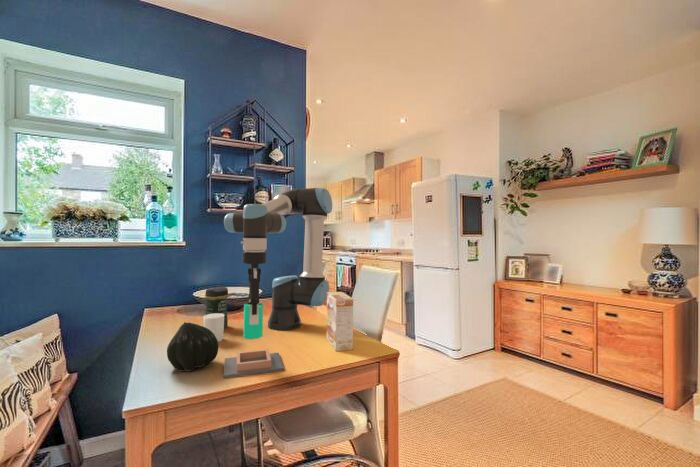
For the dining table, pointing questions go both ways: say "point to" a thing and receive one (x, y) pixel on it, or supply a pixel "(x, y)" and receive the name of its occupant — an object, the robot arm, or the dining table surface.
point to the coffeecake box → (340, 321)
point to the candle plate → (252, 363)
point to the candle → (256, 329)
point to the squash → (192, 347)
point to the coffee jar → (217, 302)
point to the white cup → (215, 324)
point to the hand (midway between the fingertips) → (253, 321)
